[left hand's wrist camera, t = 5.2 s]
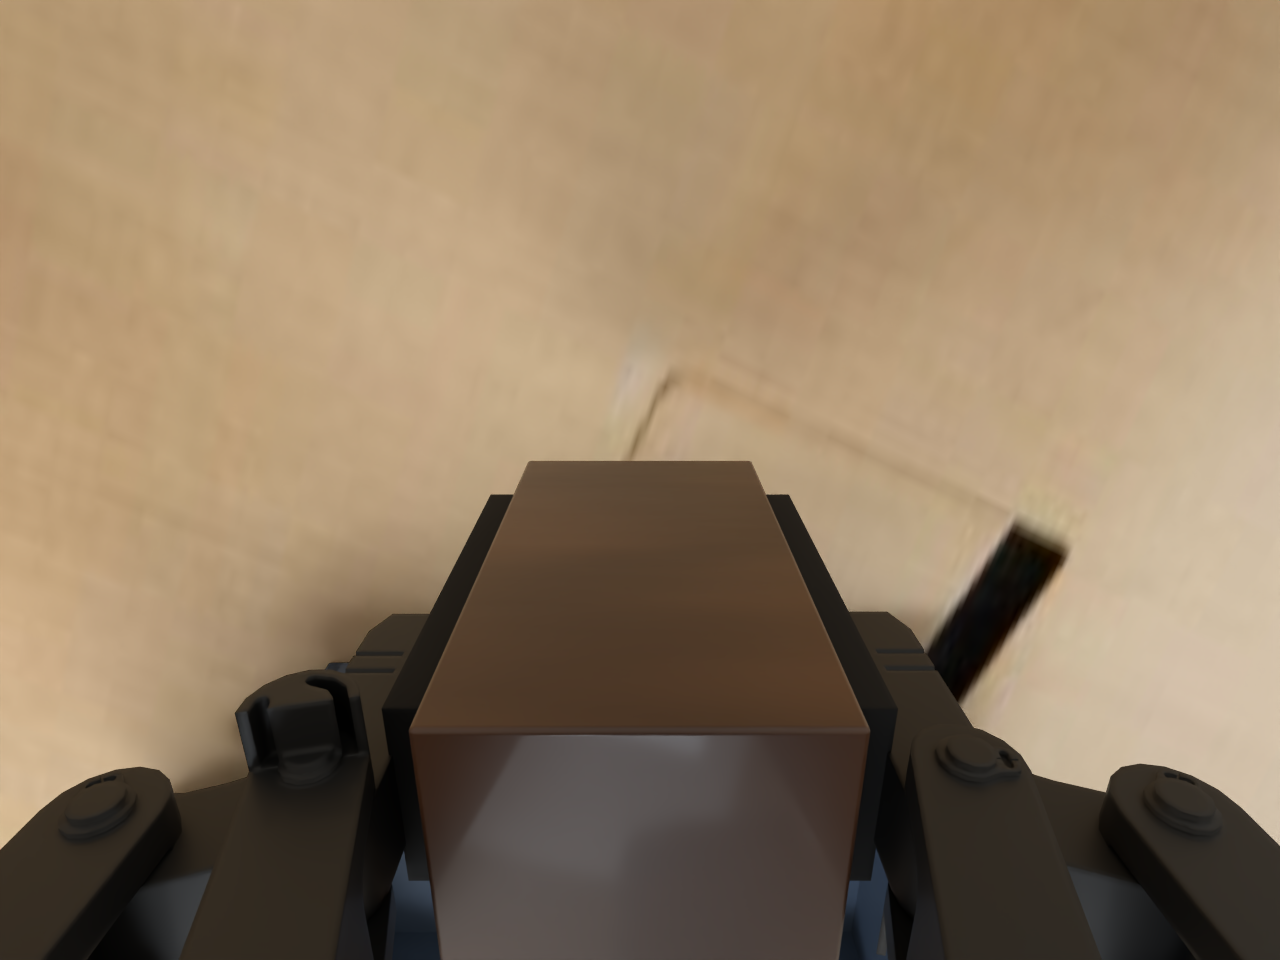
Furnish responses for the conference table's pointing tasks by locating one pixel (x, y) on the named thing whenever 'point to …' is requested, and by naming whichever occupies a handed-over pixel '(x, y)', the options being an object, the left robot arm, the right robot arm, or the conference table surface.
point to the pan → (420, 943)
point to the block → (639, 730)
